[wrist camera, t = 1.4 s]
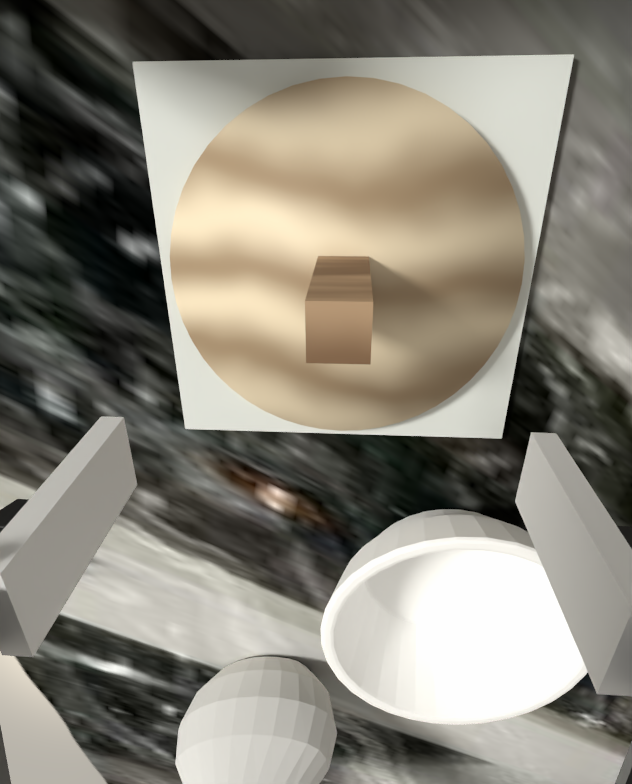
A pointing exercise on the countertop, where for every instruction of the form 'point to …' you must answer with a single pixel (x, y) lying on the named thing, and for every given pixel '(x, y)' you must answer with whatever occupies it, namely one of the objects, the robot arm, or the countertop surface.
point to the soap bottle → (258, 726)
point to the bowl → (450, 622)
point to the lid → (347, 253)
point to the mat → (425, 74)
